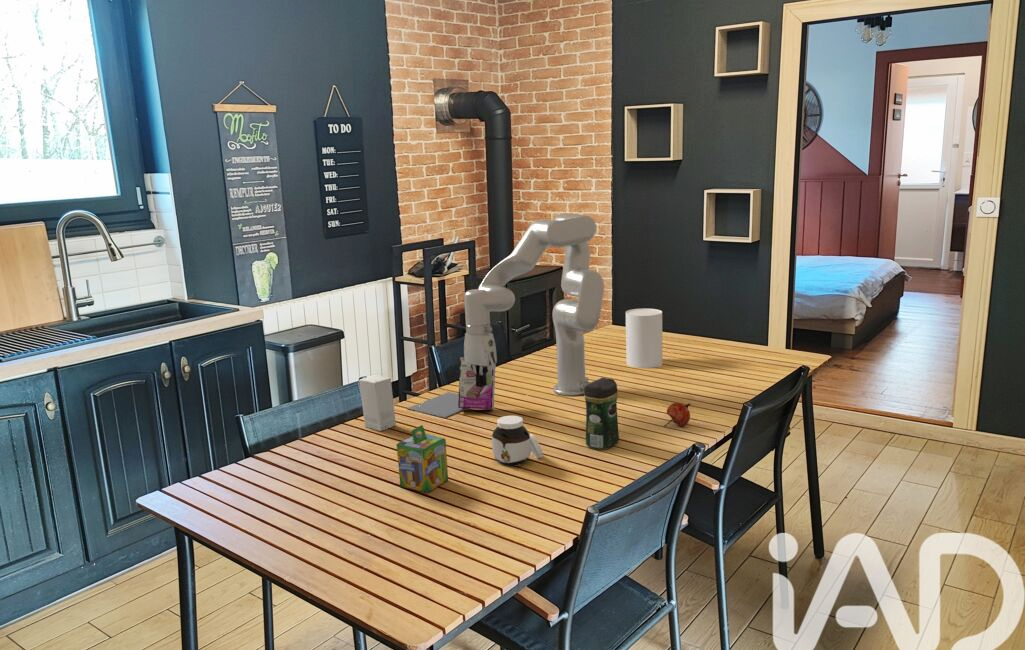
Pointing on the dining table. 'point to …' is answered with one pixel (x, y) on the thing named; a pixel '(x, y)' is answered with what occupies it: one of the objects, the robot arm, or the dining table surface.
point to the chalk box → (422, 461)
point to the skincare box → (377, 402)
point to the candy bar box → (475, 389)
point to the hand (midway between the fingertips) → (481, 385)
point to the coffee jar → (601, 413)
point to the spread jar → (513, 442)
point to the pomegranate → (679, 414)
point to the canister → (644, 338)
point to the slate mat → (440, 405)
